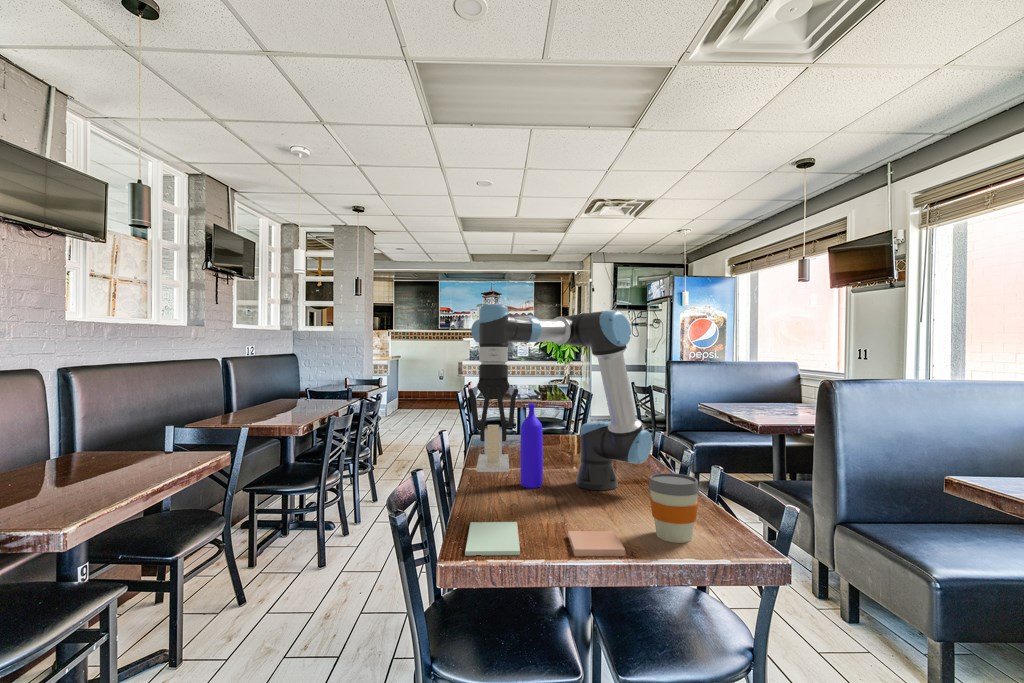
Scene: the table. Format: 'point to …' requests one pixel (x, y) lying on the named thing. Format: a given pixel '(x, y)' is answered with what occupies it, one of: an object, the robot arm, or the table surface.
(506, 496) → the table surface
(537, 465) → the bottle
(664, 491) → the reusable coffee cup
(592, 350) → the robot arm
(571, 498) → the table surface
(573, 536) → the tile
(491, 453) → the beige post on base
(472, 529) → the rest mat
